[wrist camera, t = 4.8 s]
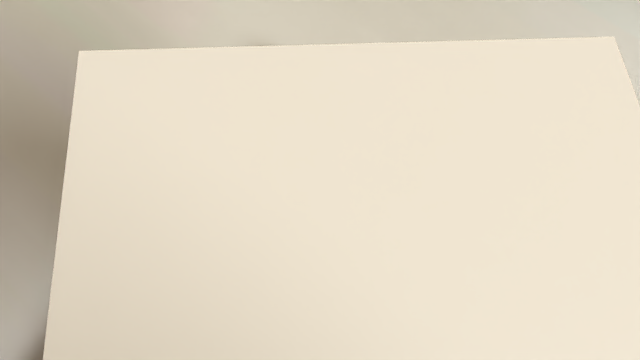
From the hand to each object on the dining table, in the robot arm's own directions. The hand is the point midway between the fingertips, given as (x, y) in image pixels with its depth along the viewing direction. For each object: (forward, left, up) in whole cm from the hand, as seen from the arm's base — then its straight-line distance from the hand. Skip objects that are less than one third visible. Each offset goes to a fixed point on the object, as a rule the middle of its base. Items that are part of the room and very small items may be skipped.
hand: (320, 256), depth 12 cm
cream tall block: (+1, +1, -5) cm, 5 cm away
